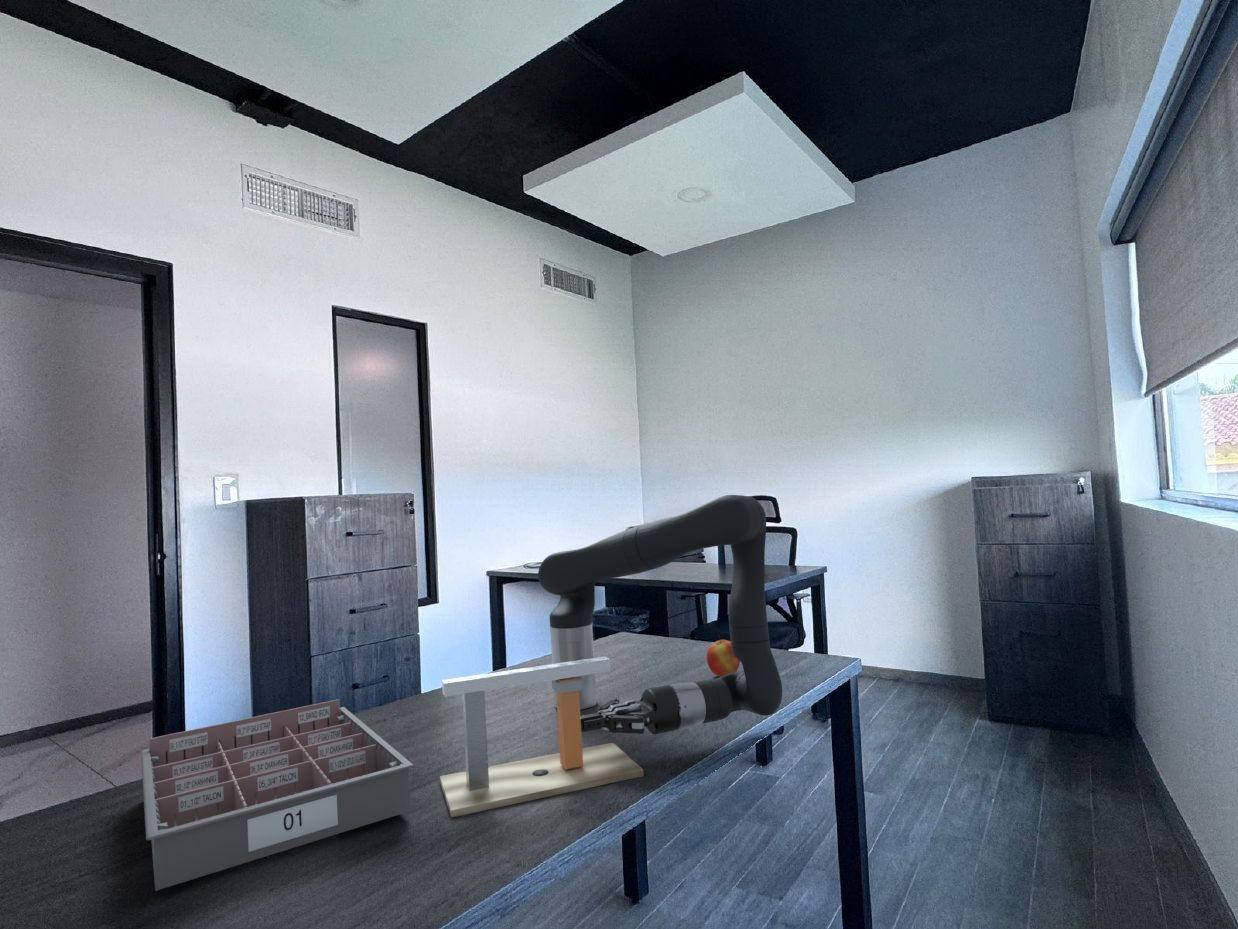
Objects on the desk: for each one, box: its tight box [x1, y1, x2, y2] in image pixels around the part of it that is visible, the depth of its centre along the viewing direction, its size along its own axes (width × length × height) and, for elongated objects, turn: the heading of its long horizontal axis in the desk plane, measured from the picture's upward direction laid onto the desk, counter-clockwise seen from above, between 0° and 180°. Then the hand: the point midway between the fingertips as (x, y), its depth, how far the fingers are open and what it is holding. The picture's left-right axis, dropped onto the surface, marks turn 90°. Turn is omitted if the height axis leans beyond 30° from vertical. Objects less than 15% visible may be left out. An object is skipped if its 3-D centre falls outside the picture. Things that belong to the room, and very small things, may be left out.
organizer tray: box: [140, 698, 415, 892], centre depth 108 cm, size 32×40×10 cm
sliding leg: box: [551, 677, 583, 770], centre depth 114 cm, size 4×4×14 cm
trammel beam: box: [441, 656, 611, 791], centre depth 112 cm, size 3×27×17 cm, turn 111°
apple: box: [706, 634, 741, 678], centre depth 168 cm, size 8×8×10 cm
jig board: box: [439, 742, 645, 818], centre depth 112 cm, size 14×30×1 cm, turn 111°
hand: (578, 724), depth 115 cm, fingers closed
